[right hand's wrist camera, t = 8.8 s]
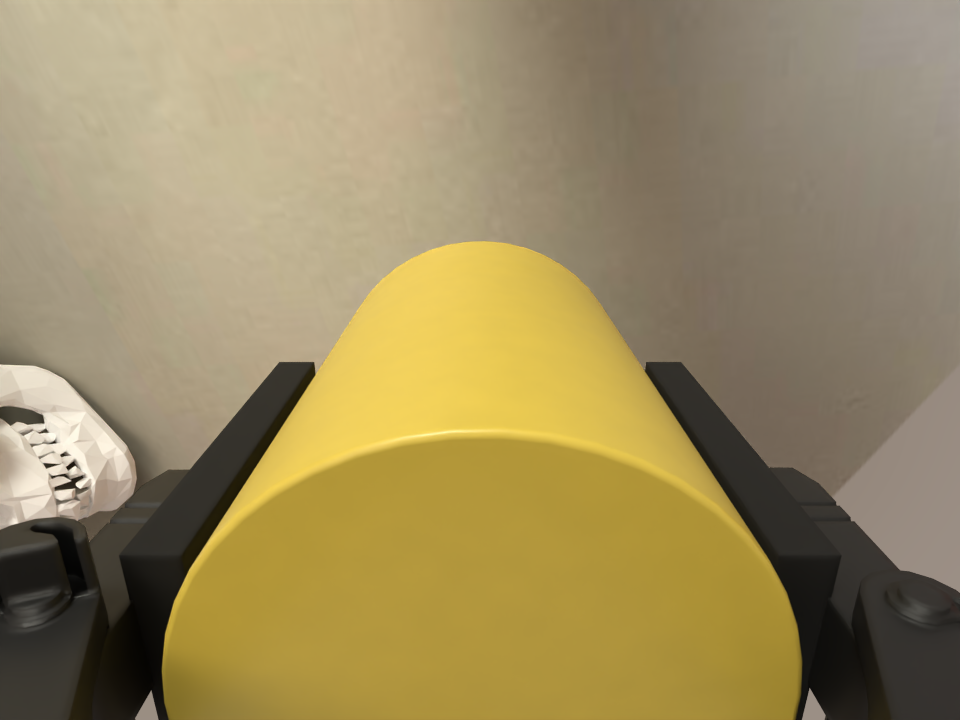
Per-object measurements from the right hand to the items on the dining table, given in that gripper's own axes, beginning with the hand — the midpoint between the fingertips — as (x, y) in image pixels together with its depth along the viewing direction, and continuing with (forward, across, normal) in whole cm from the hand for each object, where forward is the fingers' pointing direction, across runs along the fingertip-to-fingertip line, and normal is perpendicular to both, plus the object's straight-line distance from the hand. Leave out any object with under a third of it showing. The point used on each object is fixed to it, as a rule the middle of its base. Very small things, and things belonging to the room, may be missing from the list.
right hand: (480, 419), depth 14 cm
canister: (+2, 0, 0) cm, 2 cm away
